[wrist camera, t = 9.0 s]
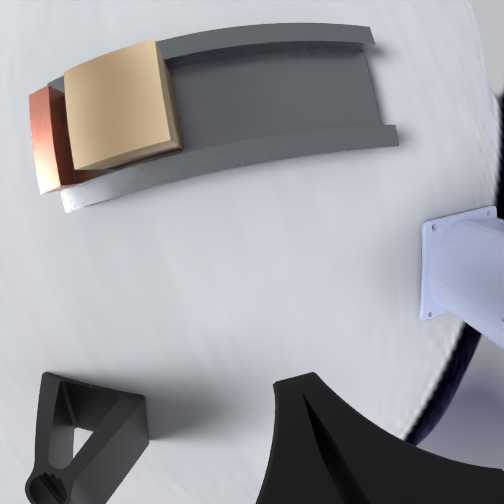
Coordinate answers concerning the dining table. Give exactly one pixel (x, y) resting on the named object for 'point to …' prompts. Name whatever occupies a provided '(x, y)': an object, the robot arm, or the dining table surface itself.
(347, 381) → the dining table surface
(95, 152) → the oak block
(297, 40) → the chute
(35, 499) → the phone stand
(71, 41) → the dining table surface
